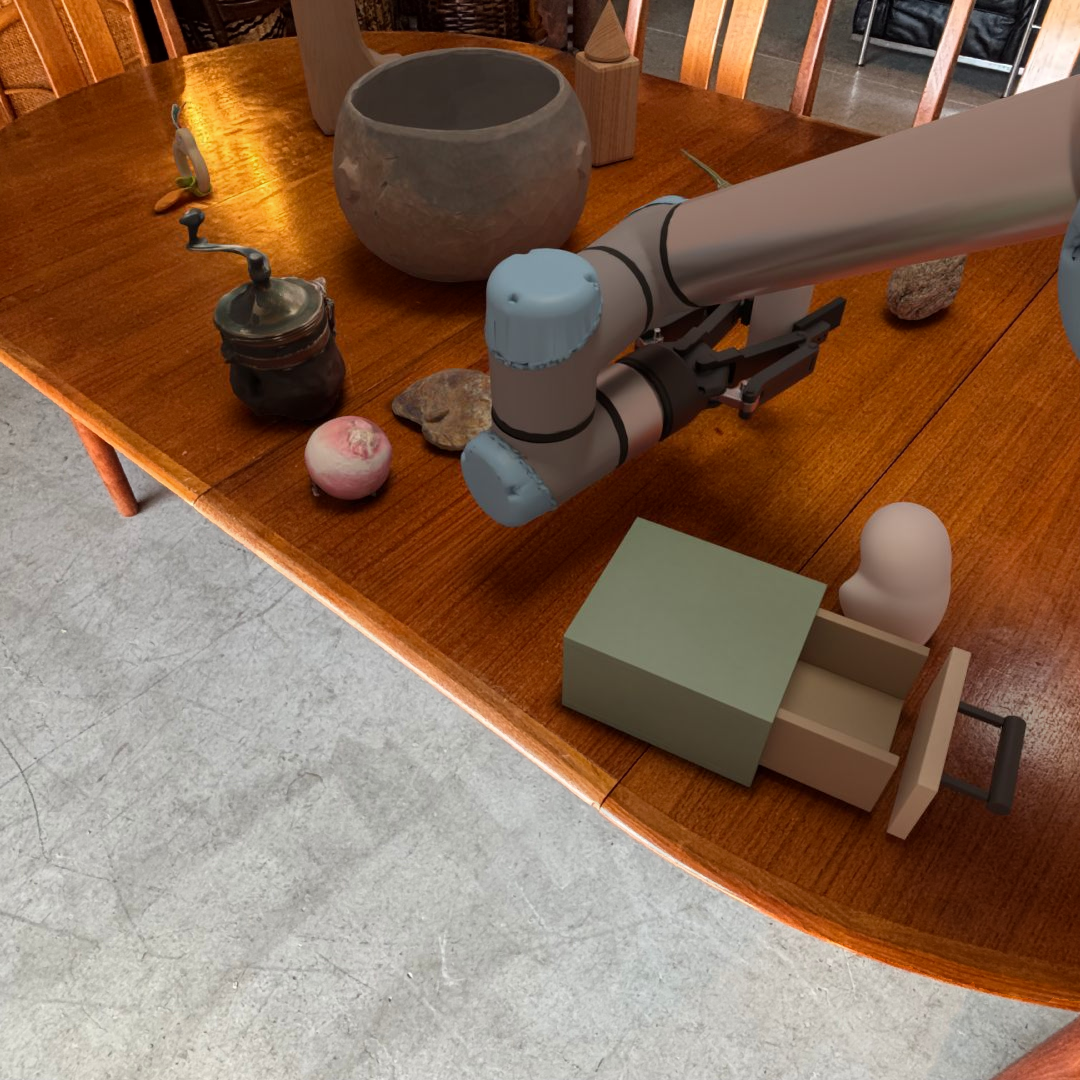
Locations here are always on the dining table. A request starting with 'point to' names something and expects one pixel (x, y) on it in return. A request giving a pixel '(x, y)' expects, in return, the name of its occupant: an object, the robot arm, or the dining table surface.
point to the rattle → (186, 165)
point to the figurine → (901, 573)
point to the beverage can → (777, 313)
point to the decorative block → (331, 55)
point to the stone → (924, 287)
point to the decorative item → (608, 90)
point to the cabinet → (689, 647)
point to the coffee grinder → (276, 336)
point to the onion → (348, 458)
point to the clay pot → (461, 160)
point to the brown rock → (448, 406)
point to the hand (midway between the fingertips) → (815, 298)
